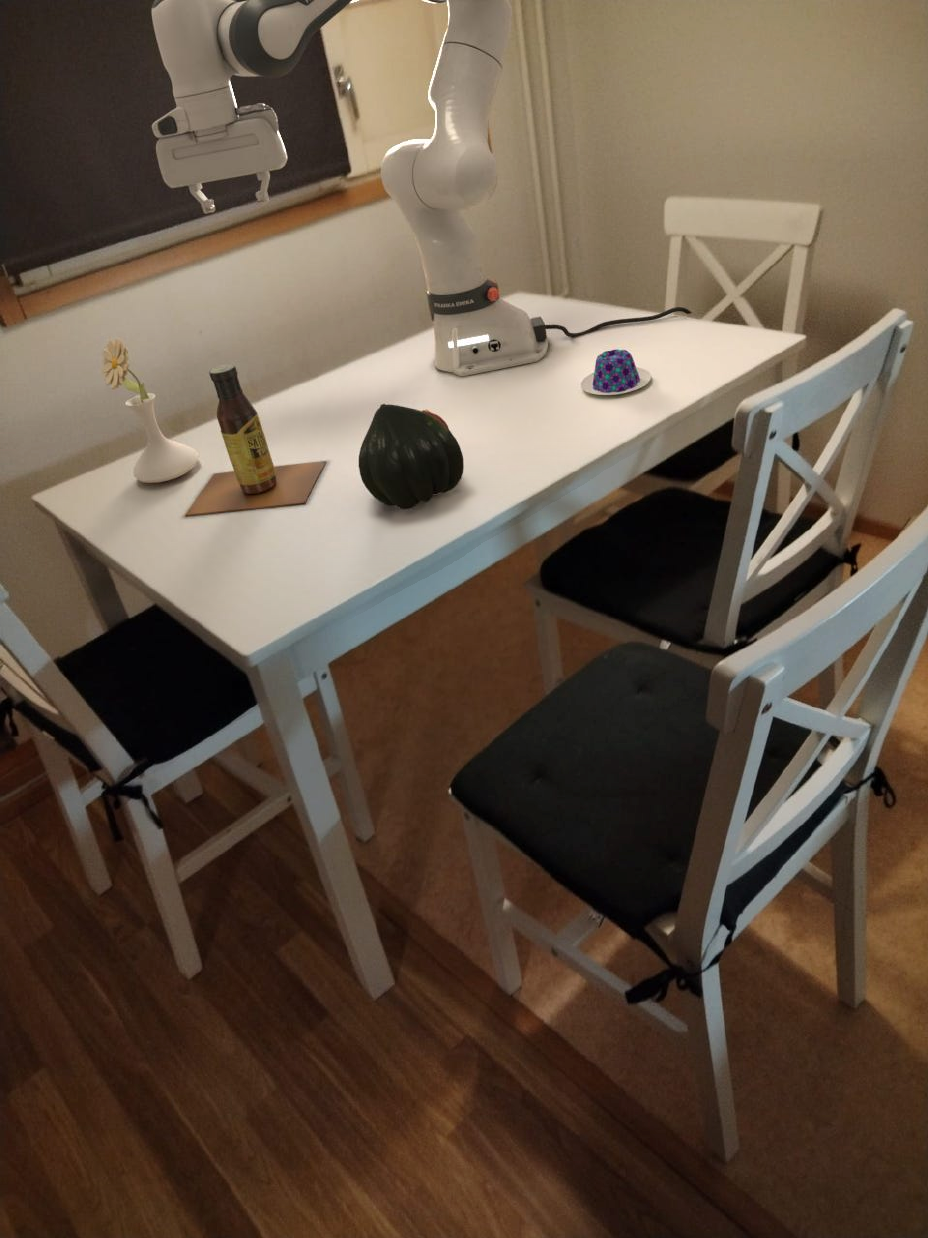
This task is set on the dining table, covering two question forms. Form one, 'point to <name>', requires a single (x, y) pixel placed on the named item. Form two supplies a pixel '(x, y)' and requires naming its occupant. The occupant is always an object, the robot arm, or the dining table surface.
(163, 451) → the flower in vase
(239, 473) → the sauce bottle
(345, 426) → the dining table surface
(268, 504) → the cork mat
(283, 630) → the dining table surface
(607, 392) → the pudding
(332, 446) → the dining table surface
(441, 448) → the squash
